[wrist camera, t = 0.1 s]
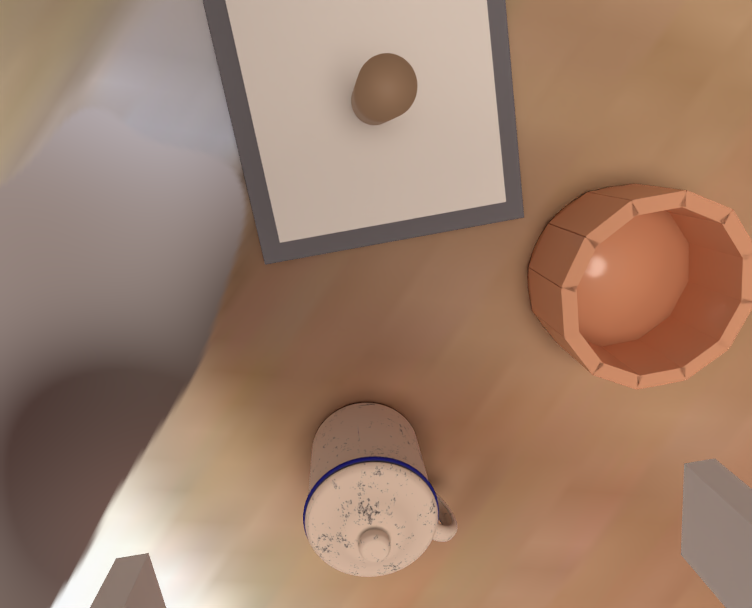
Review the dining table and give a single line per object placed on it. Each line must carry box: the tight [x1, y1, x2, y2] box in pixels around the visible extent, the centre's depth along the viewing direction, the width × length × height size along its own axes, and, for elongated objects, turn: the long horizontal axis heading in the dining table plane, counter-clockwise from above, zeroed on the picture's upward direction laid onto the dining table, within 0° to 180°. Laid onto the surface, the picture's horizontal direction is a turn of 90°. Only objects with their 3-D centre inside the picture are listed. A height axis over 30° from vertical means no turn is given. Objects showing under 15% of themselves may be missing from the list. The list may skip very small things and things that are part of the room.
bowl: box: [528, 184, 752, 389], centre depth 38 cm, size 13×13×6 cm
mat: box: [203, 0, 524, 264], centre depth 36 cm, size 19×19×1 cm
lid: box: [225, 0, 506, 243], centre depth 31 cm, size 16×16×10 cm
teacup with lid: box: [303, 403, 457, 577], centre depth 38 cm, size 12×9×12 cm
